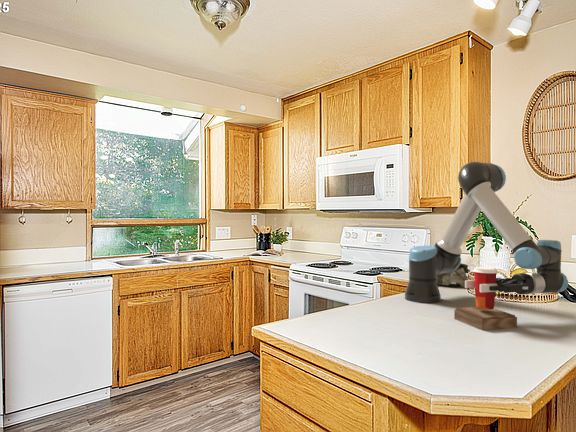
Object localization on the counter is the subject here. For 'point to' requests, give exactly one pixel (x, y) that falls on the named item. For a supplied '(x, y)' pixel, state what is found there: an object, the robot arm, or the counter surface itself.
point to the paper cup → (484, 277)
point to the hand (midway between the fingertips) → (472, 286)
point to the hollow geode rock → (454, 276)
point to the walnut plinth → (485, 318)
